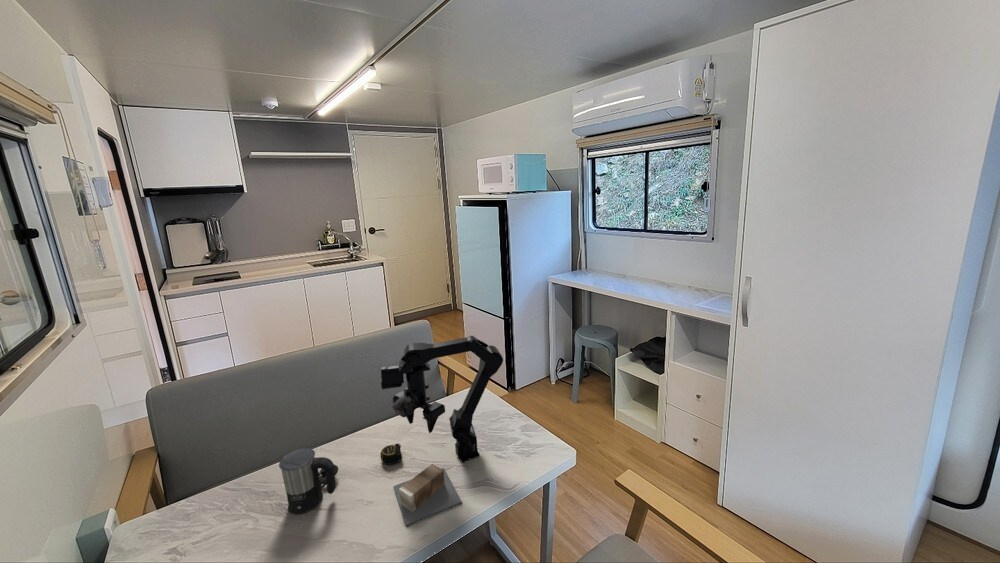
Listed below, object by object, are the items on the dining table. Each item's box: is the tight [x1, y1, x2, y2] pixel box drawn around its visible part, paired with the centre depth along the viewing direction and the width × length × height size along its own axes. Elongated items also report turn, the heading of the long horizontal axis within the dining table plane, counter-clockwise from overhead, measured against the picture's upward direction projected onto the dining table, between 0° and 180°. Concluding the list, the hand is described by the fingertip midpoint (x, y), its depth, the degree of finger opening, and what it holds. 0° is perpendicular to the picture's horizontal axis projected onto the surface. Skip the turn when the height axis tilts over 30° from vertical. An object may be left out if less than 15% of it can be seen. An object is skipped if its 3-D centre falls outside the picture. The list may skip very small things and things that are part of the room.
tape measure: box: [379, 443, 403, 465], centre depth 128 cm, size 7×7×4 cm
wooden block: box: [399, 463, 445, 512], centre depth 111 cm, size 5×5×12 cm
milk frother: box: [278, 447, 339, 515], centre depth 114 cm, size 14×16×15 cm
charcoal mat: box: [392, 467, 463, 527], centre depth 112 cm, size 16×16×1 cm
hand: (420, 427), depth 123 cm, fingers open, 9 cm apart
